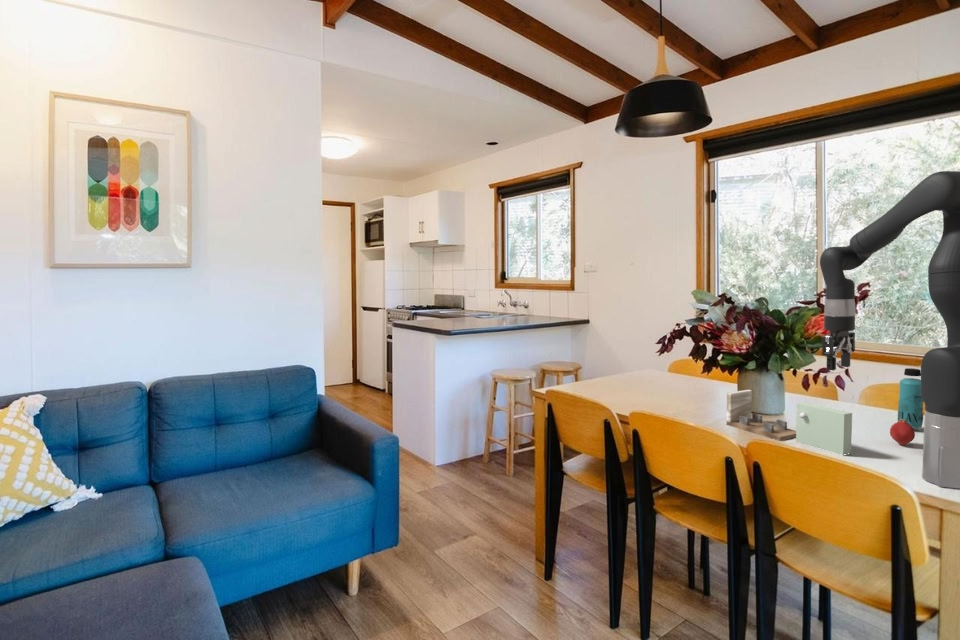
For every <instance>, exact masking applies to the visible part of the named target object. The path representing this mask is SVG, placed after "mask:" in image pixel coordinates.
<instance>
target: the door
mask: <svg viewBox="0 0 960 640" xmlns="http://www.w3.org/2000/svg"><path fill="white" fill-rule="evenodd" d="M795 419H796V420H795V421H796V423H795V424H796V425H795V426H796V427H795V431H796V437H795V442H796V443H798V442H799V443H798V444H801V443H802V444H801V445H805V444H806V446H808V445H810V446H809V447H811V446H814V447H813V448H815V447H817V448H816V449H818V448H821V449H820V450H822V449H824V450H823V451H825V450H828V451H832V452H835V453H838V454H837V455H839V454H842V455H844V454H848V453H851V454H852V437H853V436H852V435H853V434H852V432H853V412H850V411H845V410H840V409H836V408H832V407H827V406H823V405H818V404H814V403H813V404H812V403H809V402H800V403H796V418H795ZM828 451H827V452H828ZM832 452H831V453H832ZM835 453H834V454H835ZM842 455H841V456H842ZM848 455H849V454H848ZM844 456H845V455H844Z"/></svg>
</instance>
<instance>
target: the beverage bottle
mask: <svg viewBox="0 0 960 640" xmlns="http://www.w3.org/2000/svg"><path fill="white" fill-rule="evenodd" d="M903 375H904V376H907V378H906V377H904V378H902V379H901V380H899V393H898V406H897V422H899V421H900V420H901V419H904V420H905V421H906V422H907V423H908V424H909V425H911V426H912V427H913V428H914V429H916V428H922V427H923V423H924V416H925V411H924V401H923V399H922V395H921V378H920V379H919V378H913V377H921V369H919V368H910V367H908V368H905V369H904V373H903ZM909 377H910V378H909ZM897 422H896V423H897Z"/></svg>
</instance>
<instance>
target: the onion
mask: <svg viewBox="0 0 960 640" xmlns="http://www.w3.org/2000/svg"><path fill="white" fill-rule="evenodd" d="M889 434H890V435H889V436H890V437H891V438H892V439H893V441H895V442H896V443H898V445H900V446H905V445H907V444H910V443H911V442H912V441H914V439H915V437H916V431H915V428H914V427H912V426H911V425H909V424H908V423H907V422H906V421H905V420H904V419H901V420H900V421H899V422H895V423H893V424H892V425H891V426H890V428H889Z"/></svg>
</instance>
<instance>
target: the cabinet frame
mask: <svg viewBox="0 0 960 640" xmlns="http://www.w3.org/2000/svg"><path fill="white" fill-rule="evenodd" d="M752 394H753V393H752V390H751V389H744V390H737V391H730V392H726V425H727V426H729V427H730V426H731V427H733V428H737V429H739V430H744V431H747V432H750V433H753V434H757V435H760V436H763V437H766V438H769V437H770V439H773V438H774V439H773V440H777V441H785V440H789V439H794V438H795V439H796V429H795V430H794V429H792V428H791V429H790V428H788V422H787V421H785V420H782V419H775V422H776V424H774V423H770V422H766V421H763V414H759V413H756V412H754V413H752V403H753V402H752V401H753V400H752V396H753V395H752Z"/></svg>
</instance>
